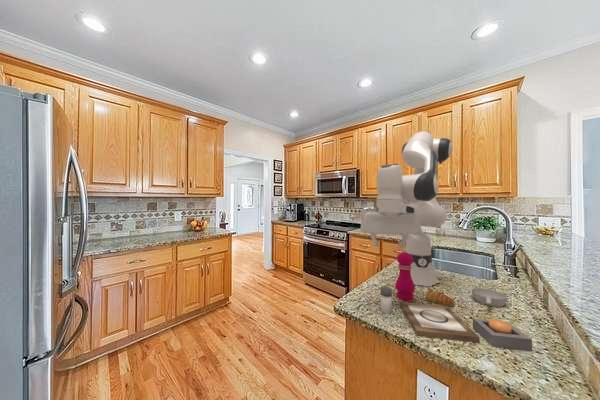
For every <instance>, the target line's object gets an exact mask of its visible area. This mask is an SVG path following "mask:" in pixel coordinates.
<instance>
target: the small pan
mask: <svg viewBox="0 0 600 400" xmlns="http://www.w3.org/2000/svg"><path fill="white" fill-rule="evenodd" d="M471 295H472V297H473V299H474V300H475V301H476V302H477V303H481V304H483V305H487V306H489V307H494V308H495V307H496V308H497V307H498V308H499V307H500V308H501V307H502V308H503V307H504V306H505V305H506V304H507V302H508V296H507V295H506V294H504V293H502V292H500V291H496V290H494V289H493V290H492V289H489V288H481V287H474V288H471Z"/></svg>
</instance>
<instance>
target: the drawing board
mask: <svg viewBox="0 0 600 400" xmlns="http://www.w3.org/2000/svg"><path fill="white" fill-rule="evenodd" d="M399 307H400V309H401V310H402V312H403V314H404V316H405V317H406V319H407V320H408V323H409V324H410V326H411V328H412V330H413V331H414V333H415V335H416V336H419V337H425V338H434V339H444V340H452V341H459V342H461V341H462V342H471V343H476V344H478V343H481V342H480V338H481V337H480V336H479V335H478V334H477V333H476V331H474V330H473V329H472V328H470V326H469V325H468V324H466V323H465V322H464V321H463V320H462V319H461V318H460V317H459V316H458V315H457V313H455V312H454V311H453V310H451V308H450V307H449V306H443V305H439V304H436V305H435V304H427V303H415V302H406V301H405V302H403V301H400V302H399Z"/></svg>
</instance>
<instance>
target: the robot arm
mask: <svg viewBox="0 0 600 400" xmlns="http://www.w3.org/2000/svg"><path fill="white" fill-rule="evenodd" d="M452 152H453V143H452V141H451V140H450V139H449V138H447V137H446V138H445V137H441V138H434V137H433V135H432V134H431V133H429V132H428V131H425V130H424V131H418V132H415V133H414V134H413V135H412V136H411V137H410V138H409V140H408V141H407V142H405V143H404V144H403V145H402V149H401V156H402V157H401V158H402V160H403V162H404V163H405V164H406V165H407V166H408V167H410V168H413V169H414V170H413V174H408V175H406V174H404V175H403V169H402V164H399V163H392V164H391V163H390V164H383V165H381V166H379V168H378V170H377V171H378V172H377V177H376V190H377V196H376V207H364V208H363V209H362V210H361V212H360V217H361V221H360V232H362V234H369V236H370V237H369V238H371V240H372V244H373V247H380V241H378V240H377V239H376V237H377V235H379V234H380V235H401V237H402V238H401V240H400V241H399V240H398V247H399V248H405V249H406V250H407V253H408V254H410V255H411V256H412V258H413V263H412V264H411V266H412V267H411V268H412V269H411V271H410V273H411V278H412V280H413V283H414V284H418V285H424V286H423V287H433V286H432V285H434V284H435V285H437V284H436V283H439V284H440V280H439V279H437V269H436V265H435V264H433V255H432V241H431V238H430V237H429V235H427V234H425V232H424V231H423V230H422V228H421V227H429V228H431V227H441V226H442V225H444V224H445V223H446V221H447V219H448V218H447V216H448V215H447V211H446V209H445V208H444V207H443V206H442V204H441V205H440V203H439V202H438V201H437V198H436V196H438V194H439V181H438V173H439V170H438V169H439V167H438V165H442V164H443V163H444V162H445V161H447V160H448V159H449V158H450V157H451V154H452ZM404 201H417V203H415V204H414V203H404ZM398 277H399V276H398V275H397V278H398ZM418 285H417V286H418ZM435 285H434V286H435Z"/></svg>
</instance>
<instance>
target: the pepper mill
mask: <svg viewBox="0 0 600 400" xmlns="http://www.w3.org/2000/svg"><path fill="white" fill-rule="evenodd" d="M401 251H402V252H400V253H398V254H397V256H396V260H397V263H398V271H400V272H399V277H398V276H397V279H396V281H395V289H396V290H397V291H396V298H398V299H399V300H402V301H405V302H412V301H414V299H415V298H414V292H415V291H416V287H415V286H416V285H414V283H413V280H412V278H411V273H410V271H411V269H412V268H411V267H412V266H411V264H412V263H413V258H412V256H411V255H410V254H408V253H407V250H406V248H404V249H402V250H401Z"/></svg>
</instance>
